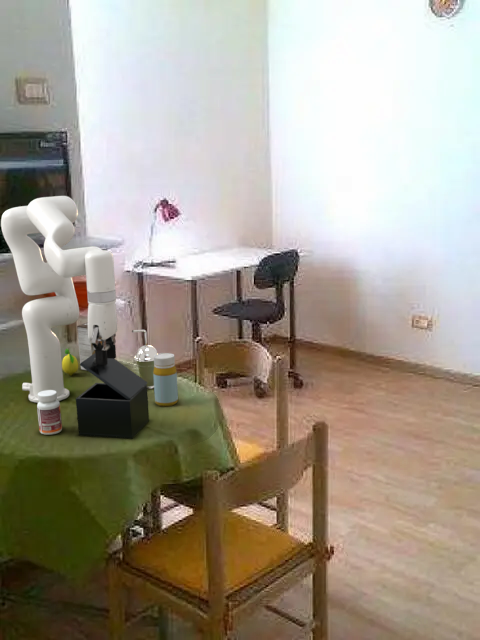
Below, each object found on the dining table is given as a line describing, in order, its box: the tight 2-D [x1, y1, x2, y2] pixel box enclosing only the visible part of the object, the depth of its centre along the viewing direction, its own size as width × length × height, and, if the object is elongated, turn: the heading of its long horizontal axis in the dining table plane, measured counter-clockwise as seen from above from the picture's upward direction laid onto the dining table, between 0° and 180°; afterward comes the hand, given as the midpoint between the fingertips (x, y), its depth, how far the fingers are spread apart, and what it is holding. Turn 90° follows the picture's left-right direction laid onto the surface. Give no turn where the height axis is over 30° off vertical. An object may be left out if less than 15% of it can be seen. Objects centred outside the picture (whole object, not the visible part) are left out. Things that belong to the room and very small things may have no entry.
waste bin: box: [75, 382, 150, 440], centre depth 217 cm, size 16×14×11 cm
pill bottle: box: [36, 390, 63, 436], centre depth 216 cm, size 6×6×11 cm
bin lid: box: [79, 344, 147, 400], centre depth 213 cm, size 16×14×6 cm
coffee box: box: [76, 321, 102, 371], centre depth 274 cm, size 9×6×16 cm
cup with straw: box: [131, 329, 159, 390], centre depth 250 cm, size 8×9×20 cm
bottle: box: [153, 352, 179, 407], centre depth 235 cm, size 7×7×15 cm
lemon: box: [61, 347, 79, 376], centre depth 266 cm, size 7×6×10 cm
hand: (106, 360), depth 214 cm, fingers closed on bin lid, 5 cm apart
